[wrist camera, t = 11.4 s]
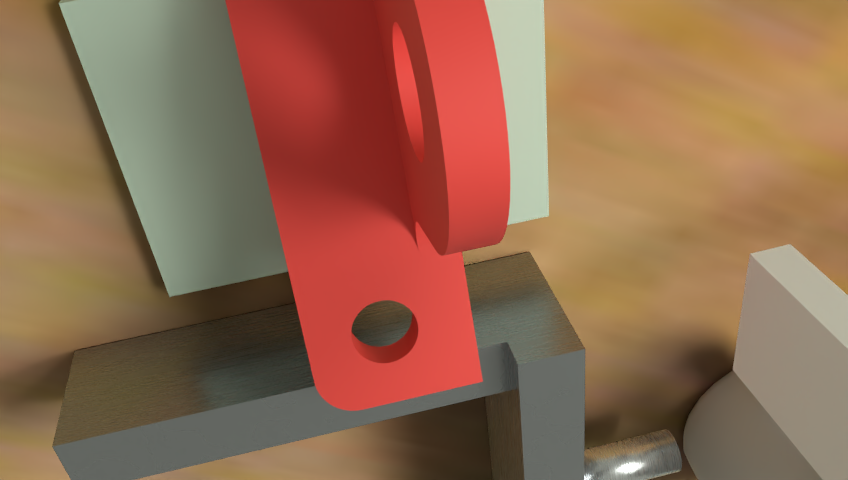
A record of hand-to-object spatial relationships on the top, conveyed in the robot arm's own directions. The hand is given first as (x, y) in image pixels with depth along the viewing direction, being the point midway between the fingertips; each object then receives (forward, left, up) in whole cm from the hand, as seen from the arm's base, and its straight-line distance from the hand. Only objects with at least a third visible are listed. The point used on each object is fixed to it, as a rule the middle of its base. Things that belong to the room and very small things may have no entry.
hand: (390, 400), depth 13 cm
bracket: (+1, -1, -9) cm, 9 cm away
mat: (0, 0, -11) cm, 11 cm away
